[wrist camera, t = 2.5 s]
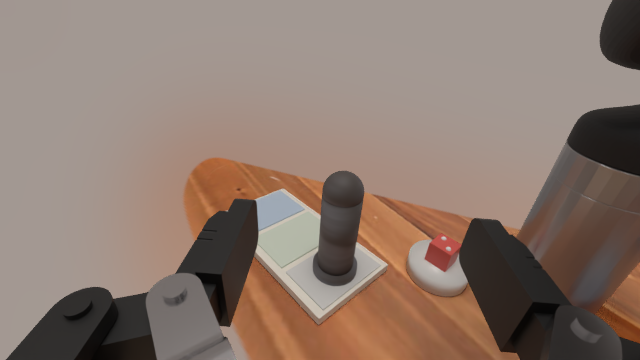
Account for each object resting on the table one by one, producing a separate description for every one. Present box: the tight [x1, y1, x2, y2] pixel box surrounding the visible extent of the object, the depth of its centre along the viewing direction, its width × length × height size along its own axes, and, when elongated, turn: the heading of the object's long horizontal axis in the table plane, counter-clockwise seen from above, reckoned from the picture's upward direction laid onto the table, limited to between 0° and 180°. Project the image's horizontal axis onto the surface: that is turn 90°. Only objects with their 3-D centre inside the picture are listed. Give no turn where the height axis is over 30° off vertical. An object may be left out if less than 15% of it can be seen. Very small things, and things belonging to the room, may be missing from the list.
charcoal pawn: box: [313, 171, 364, 286], centre depth 31 cm, size 5×5×12 cm
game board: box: [254, 189, 388, 325], centre depth 39 cm, size 11×21×1 cm, turn 42°
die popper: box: [406, 233, 468, 297], centre depth 35 cm, size 7×7×5 cm
